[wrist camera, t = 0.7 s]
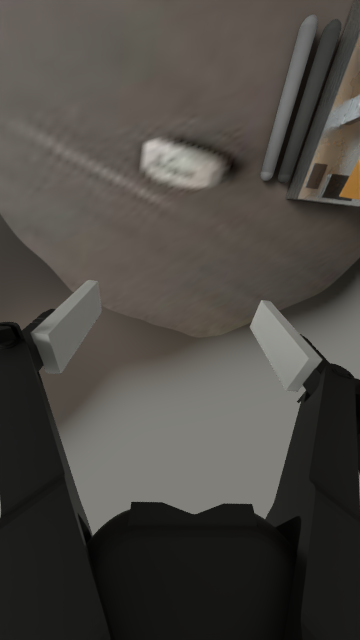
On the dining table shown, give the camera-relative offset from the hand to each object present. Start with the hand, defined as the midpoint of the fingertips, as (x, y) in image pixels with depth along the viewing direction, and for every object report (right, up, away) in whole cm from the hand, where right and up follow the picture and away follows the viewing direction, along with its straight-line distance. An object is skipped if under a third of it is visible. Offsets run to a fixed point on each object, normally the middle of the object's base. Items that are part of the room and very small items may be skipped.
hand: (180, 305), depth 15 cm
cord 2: (+18, +29, +13) cm, 37 cm away
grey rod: (+15, +29, +12) cm, 35 cm away
